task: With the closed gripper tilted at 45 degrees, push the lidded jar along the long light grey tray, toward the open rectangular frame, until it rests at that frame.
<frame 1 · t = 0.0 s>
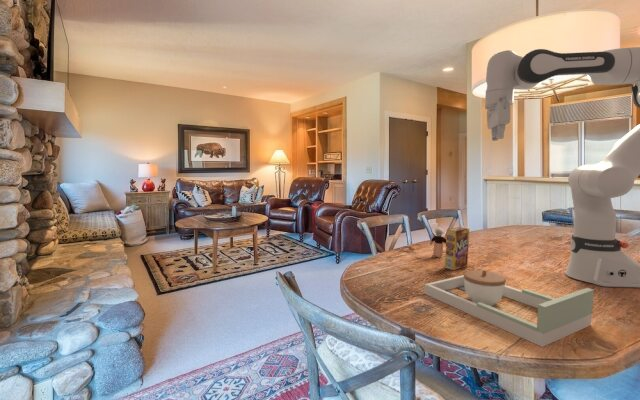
hand: (497, 139, 119), 48 cm above the table, tool pointing down, fingers open, 8 cm apart
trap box: (494, 306, 92), on the table
lidded jar: (483, 302, 96), resting in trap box
grandmother figurine: (438, 257, 142), on the table
candy box: (456, 267, 128), on the table
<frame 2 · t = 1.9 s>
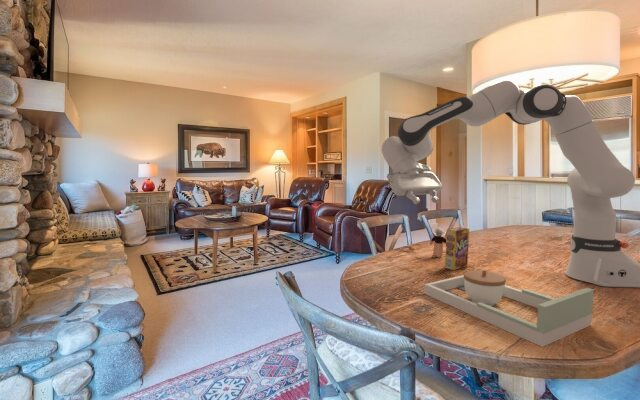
hand: (427, 202, 113), 27 cm above the table, tool tilted 45°, fingers open, 7 cm apart
nothing on the table moved.
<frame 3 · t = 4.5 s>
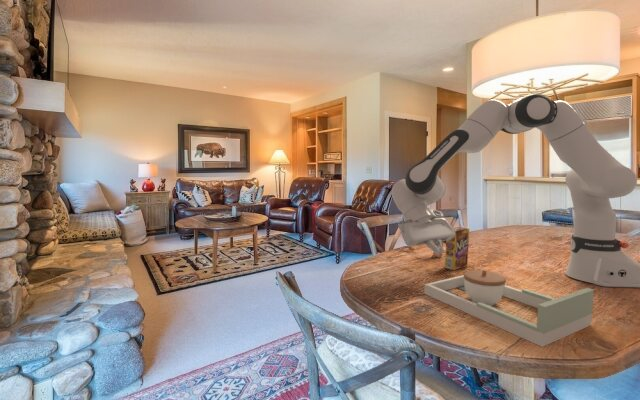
hand: (440, 252, 109), 11 cm above the table, tool tilted 45°, fingers closed
nothing on the table moved.
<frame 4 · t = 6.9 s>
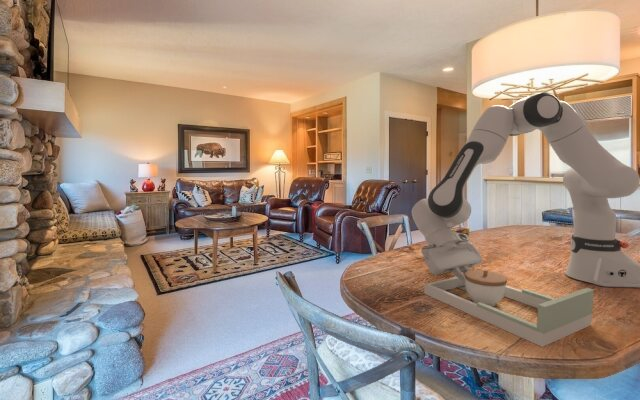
hand: (467, 281, 100), 4 cm above the table, tool tilted 45°, fingers closed, pressing on lidded jar
lidded jar: (484, 302, 95), resting in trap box, touching gripper
everything else where it was.
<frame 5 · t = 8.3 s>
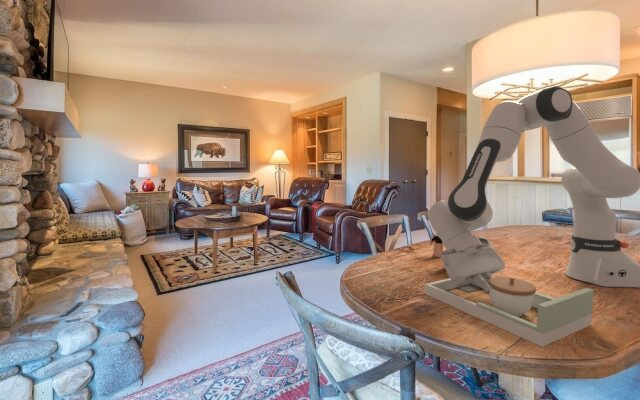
hand: (490, 289, 93), 4 cm above the table, tool tilted 45°, fingers closed, pressing on lidded jar
lidded jar: (509, 312, 89), resting in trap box, touching gripper
everything else where it was.
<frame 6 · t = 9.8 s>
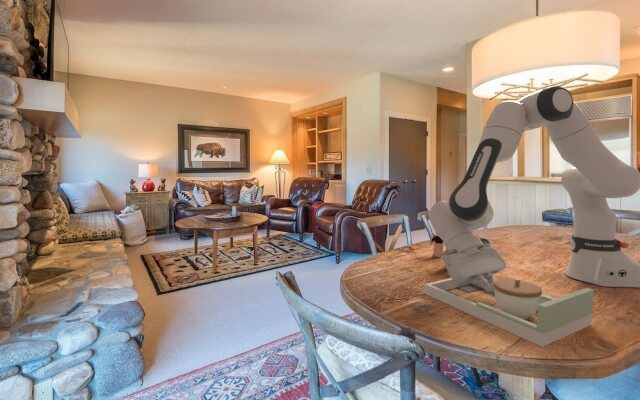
hand: (492, 290, 93), 4 cm above the table, tool tilted 45°, fingers closed
lidded jar: (515, 314, 88), resting in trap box
everything else where it was.
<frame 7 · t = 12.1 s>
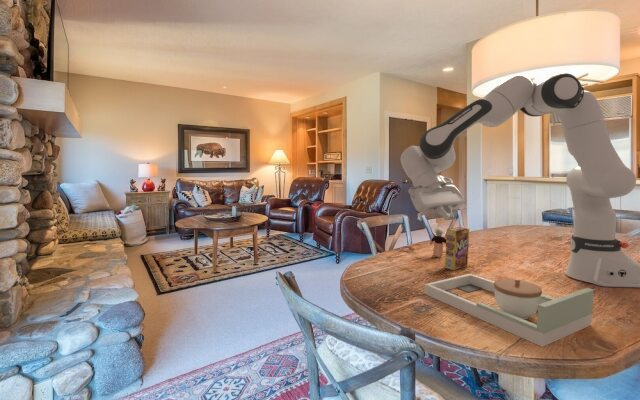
hand: (450, 219, 107), 22 cm above the table, tool tilted 40°, fingers closed
nothing on the table moved.
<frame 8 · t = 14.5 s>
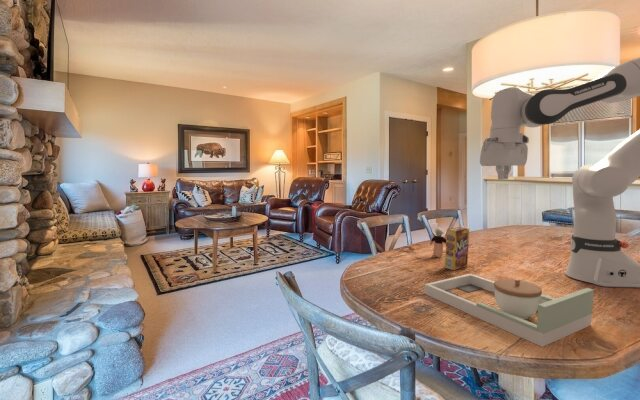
hand: (502, 179, 113), 34 cm above the table, tool pointing down, fingers closed
nothing on the table moved.
at the end: lidded jar 3.8 cm from the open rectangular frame (horizontally); lidded jar moved 9.3 cm from its start; lidded jar tilted 0° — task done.
